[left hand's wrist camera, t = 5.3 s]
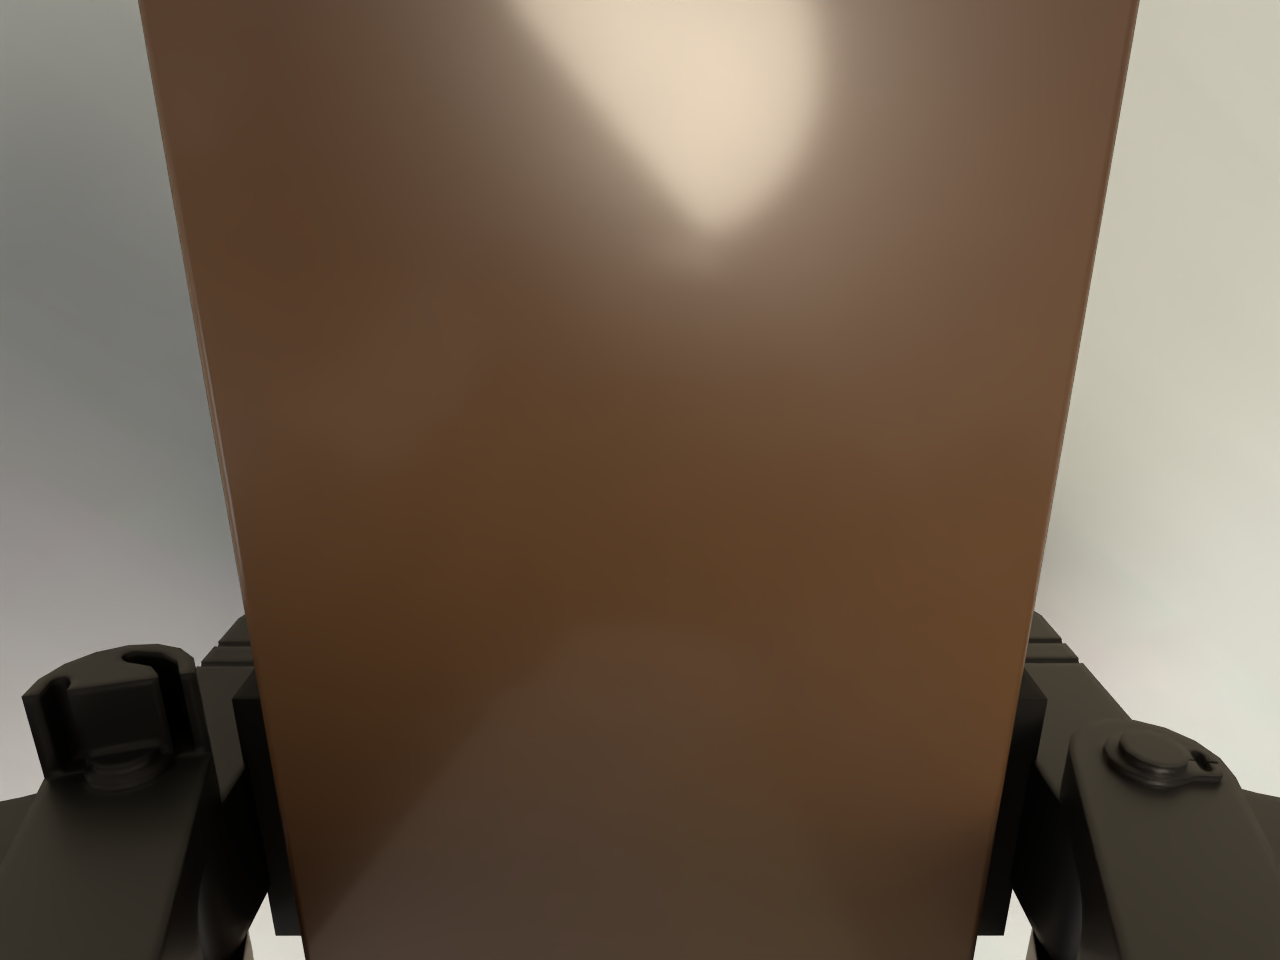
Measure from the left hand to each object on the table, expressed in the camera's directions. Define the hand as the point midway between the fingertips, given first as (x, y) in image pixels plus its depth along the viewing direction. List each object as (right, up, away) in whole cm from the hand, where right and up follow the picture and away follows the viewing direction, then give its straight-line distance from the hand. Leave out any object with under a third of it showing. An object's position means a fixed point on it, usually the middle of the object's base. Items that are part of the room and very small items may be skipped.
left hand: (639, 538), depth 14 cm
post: (0, +26, -9) cm, 27 cm away
